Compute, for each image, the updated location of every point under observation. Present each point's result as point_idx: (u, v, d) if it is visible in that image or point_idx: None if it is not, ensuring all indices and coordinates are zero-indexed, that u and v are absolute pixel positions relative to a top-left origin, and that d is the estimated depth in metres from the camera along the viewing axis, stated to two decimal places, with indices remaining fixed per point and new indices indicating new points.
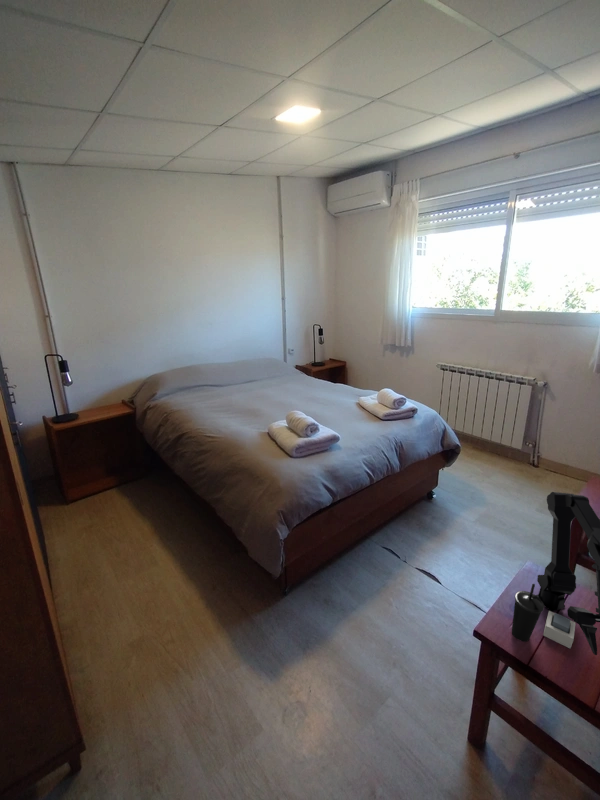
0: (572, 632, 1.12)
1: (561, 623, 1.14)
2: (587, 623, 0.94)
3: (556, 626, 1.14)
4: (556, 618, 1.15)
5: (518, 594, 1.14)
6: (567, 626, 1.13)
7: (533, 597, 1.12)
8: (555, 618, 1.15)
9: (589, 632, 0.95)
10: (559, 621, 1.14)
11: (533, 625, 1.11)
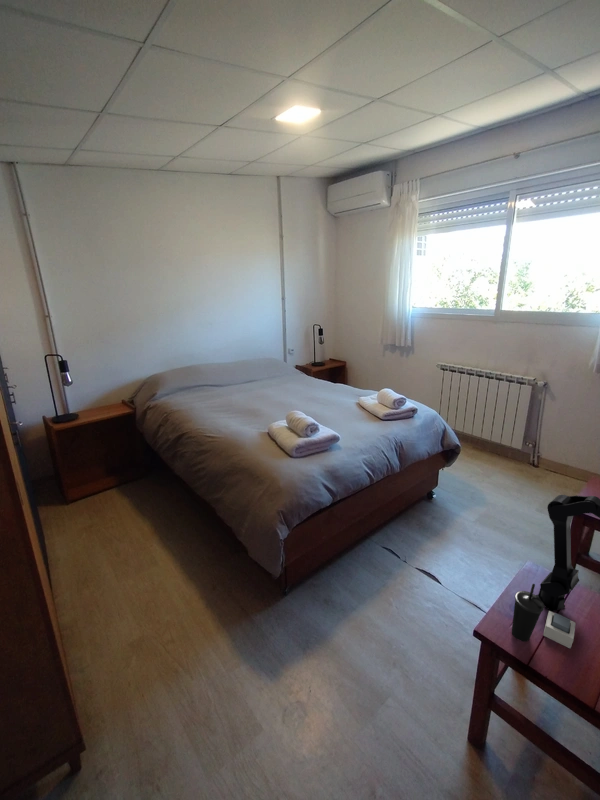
0: (572, 632, 1.12)
1: (561, 623, 1.14)
2: None
3: (556, 626, 1.14)
4: (556, 618, 1.15)
5: (518, 594, 1.14)
6: (567, 626, 1.13)
7: (533, 597, 1.12)
8: (555, 618, 1.15)
9: None
10: (559, 621, 1.14)
11: (533, 625, 1.11)
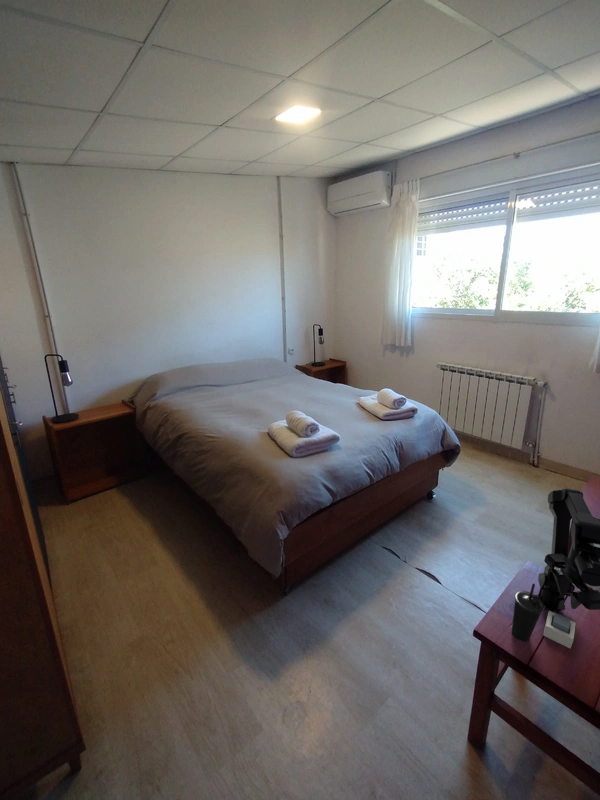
0: (572, 632, 1.12)
1: (561, 623, 1.14)
2: None
3: (556, 626, 1.14)
4: (556, 618, 1.15)
5: (518, 594, 1.14)
6: (567, 626, 1.13)
7: (533, 597, 1.12)
8: (555, 618, 1.15)
9: None
10: (559, 621, 1.14)
11: (533, 625, 1.11)
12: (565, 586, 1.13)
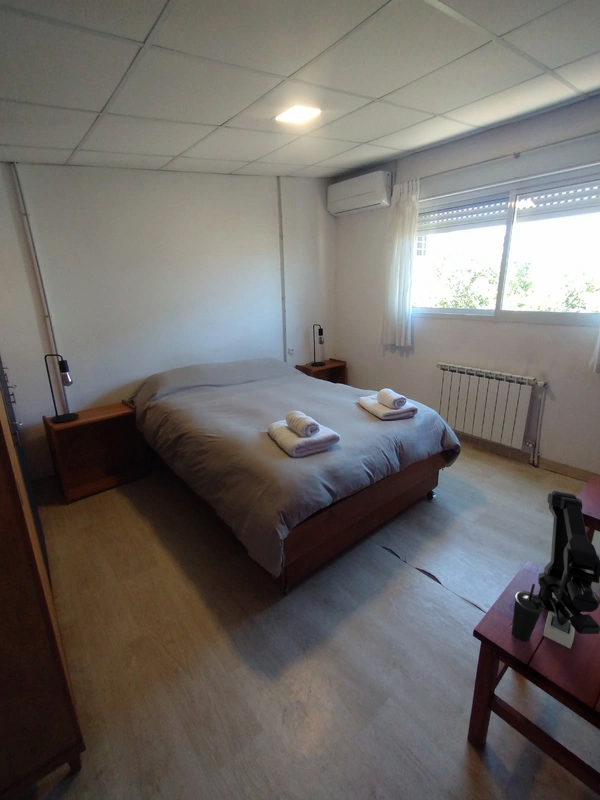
0: (572, 632, 1.12)
1: (560, 626, 1.14)
2: None
3: None
4: (555, 621, 1.16)
5: (518, 594, 1.14)
6: (566, 630, 1.13)
7: (533, 597, 1.12)
8: (554, 621, 1.16)
9: None
10: (558, 625, 1.15)
11: (533, 625, 1.11)
12: None
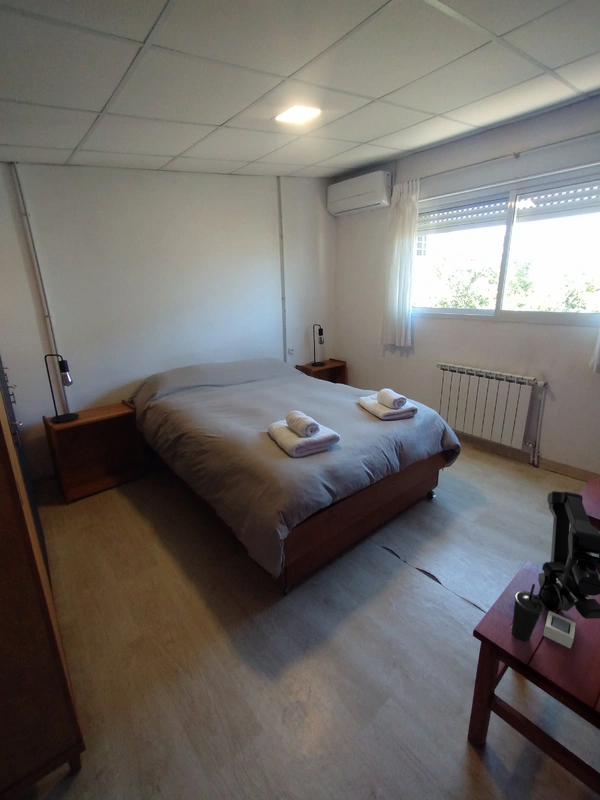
0: (572, 632, 1.12)
1: (560, 627, 1.14)
2: None
3: None
4: (555, 622, 1.16)
5: (518, 594, 1.14)
6: (566, 630, 1.13)
7: (533, 597, 1.12)
8: (554, 622, 1.16)
9: None
10: (558, 625, 1.15)
11: (533, 625, 1.11)
12: None
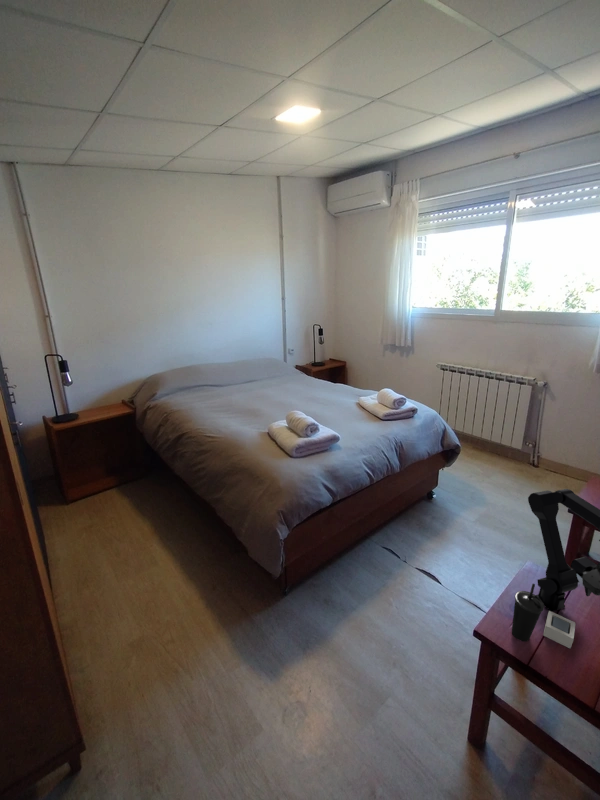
0: (572, 632, 1.12)
1: (560, 627, 1.14)
2: (575, 569, 1.14)
3: None
4: (555, 622, 1.16)
5: (518, 594, 1.14)
6: (566, 630, 1.13)
7: (533, 597, 1.12)
8: (554, 622, 1.16)
9: None
10: (558, 625, 1.15)
11: (533, 625, 1.11)
12: None
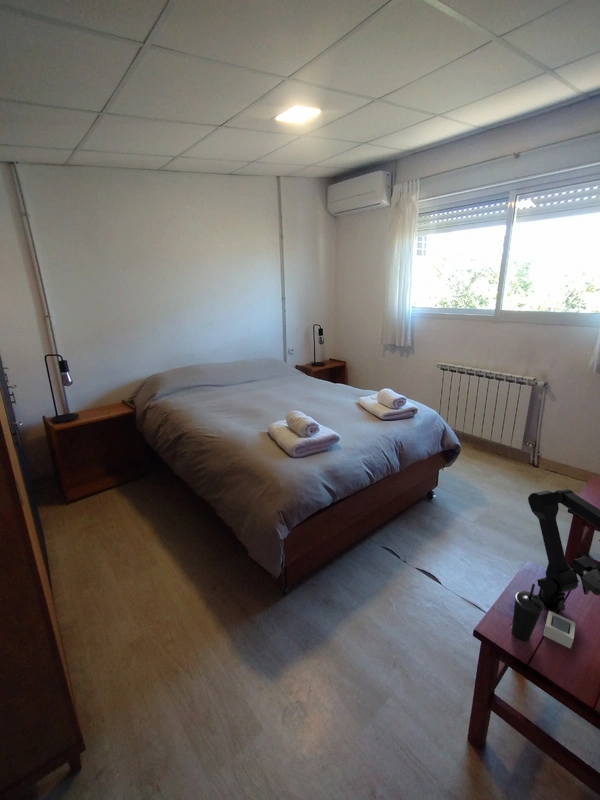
0: (572, 632, 1.12)
1: (560, 627, 1.14)
2: (575, 569, 1.14)
3: None
4: (555, 622, 1.16)
5: (518, 594, 1.14)
6: (566, 630, 1.13)
7: (533, 597, 1.12)
8: (554, 622, 1.16)
9: (580, 577, 1.14)
10: (558, 625, 1.15)
11: (533, 625, 1.11)
12: None
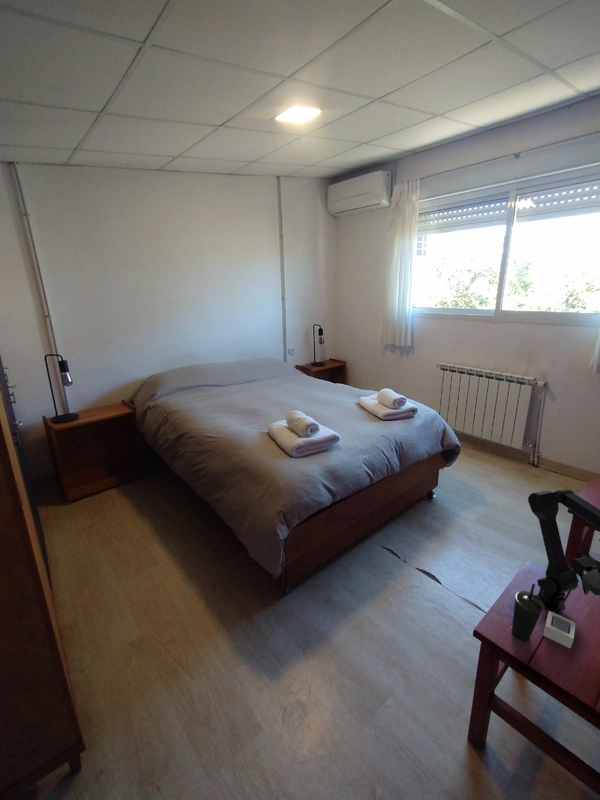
0: (572, 632, 1.12)
1: (560, 627, 1.14)
2: (575, 569, 1.14)
3: None
4: (555, 622, 1.16)
5: (518, 594, 1.14)
6: (566, 630, 1.13)
7: (533, 597, 1.12)
8: (554, 622, 1.16)
9: (580, 577, 1.14)
10: (558, 625, 1.15)
11: (533, 625, 1.11)
12: None
